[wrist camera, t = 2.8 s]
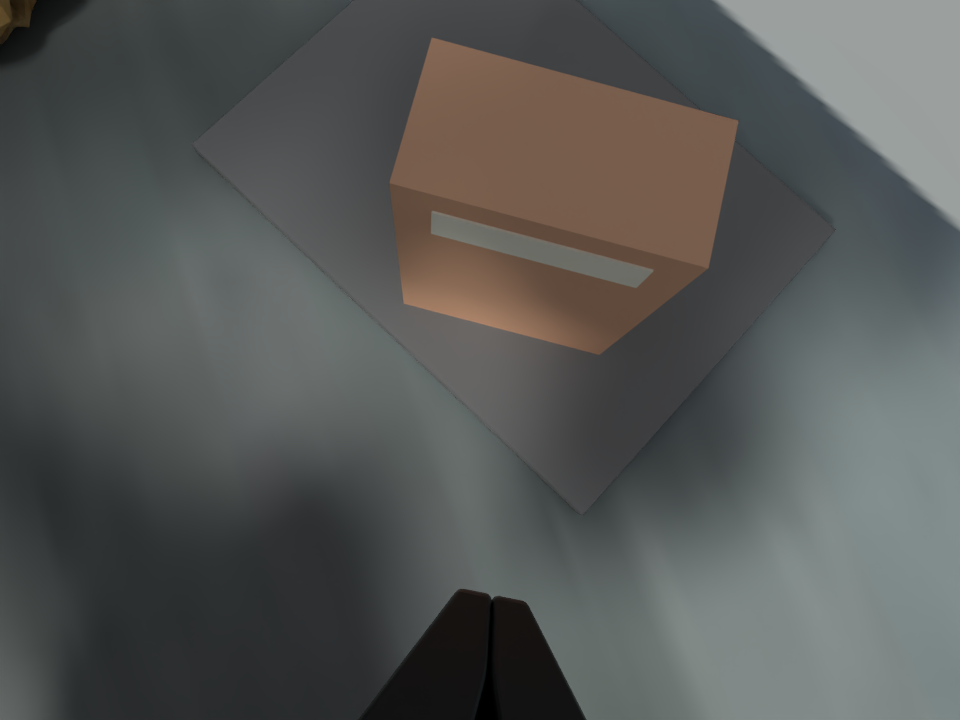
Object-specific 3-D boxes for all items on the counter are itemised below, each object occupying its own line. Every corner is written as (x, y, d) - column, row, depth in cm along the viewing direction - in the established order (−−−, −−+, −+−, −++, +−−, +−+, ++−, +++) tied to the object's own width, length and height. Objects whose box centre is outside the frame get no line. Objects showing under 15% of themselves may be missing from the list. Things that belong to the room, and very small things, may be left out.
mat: (827, 235, 25) (835, 229, 24) (579, 514, 23) (582, 514, 22) (464, -88, 26) (465, -100, 25) (195, 151, 24) (191, 144, 23)
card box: (599, 356, 23) (708, 270, 14) (403, 305, 23) (388, 185, 14) (620, 259, 23) (739, 118, 15) (430, 209, 23) (432, 35, 14)
